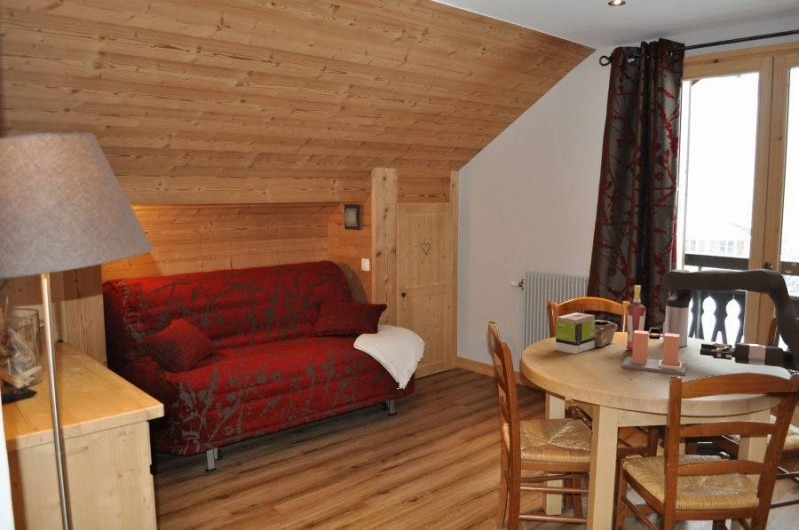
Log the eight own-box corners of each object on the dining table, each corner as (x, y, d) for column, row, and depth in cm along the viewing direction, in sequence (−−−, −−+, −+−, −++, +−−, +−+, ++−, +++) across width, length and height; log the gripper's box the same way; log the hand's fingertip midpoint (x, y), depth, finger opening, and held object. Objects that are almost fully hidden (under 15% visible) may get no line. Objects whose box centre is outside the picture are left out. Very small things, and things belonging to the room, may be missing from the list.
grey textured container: (572, 344, 281) (573, 322, 280) (595, 336, 295) (596, 316, 294) (600, 349, 272) (600, 327, 271) (622, 341, 286) (623, 320, 285)
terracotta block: (662, 366, 241) (664, 335, 240) (664, 363, 245) (665, 332, 244) (677, 368, 239) (678, 337, 237) (678, 364, 243) (679, 334, 242)
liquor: (643, 353, 264) (646, 287, 261) (625, 352, 267) (627, 286, 264) (644, 349, 271) (647, 285, 268) (625, 348, 274) (628, 284, 270)
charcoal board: (622, 367, 243) (623, 334, 242) (627, 359, 256) (628, 327, 254) (684, 375, 233) (686, 340, 232) (686, 366, 246) (688, 332, 244)
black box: (668, 337, 296) (668, 327, 296) (671, 341, 289) (671, 330, 288) (638, 335, 299) (638, 325, 299) (640, 339, 292) (641, 329, 291)
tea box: (574, 344, 281) (575, 311, 279) (594, 348, 273) (596, 314, 271) (554, 350, 271) (555, 316, 269) (574, 354, 263) (576, 319, 262)
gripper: (750, 339, 235) (701, 335, 242) (751, 348, 222) (700, 343, 230) (748, 359, 236) (700, 354, 243) (749, 369, 223) (699, 363, 231)
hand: (700, 349), depth 237 cm, fingers open, 8 cm apart
